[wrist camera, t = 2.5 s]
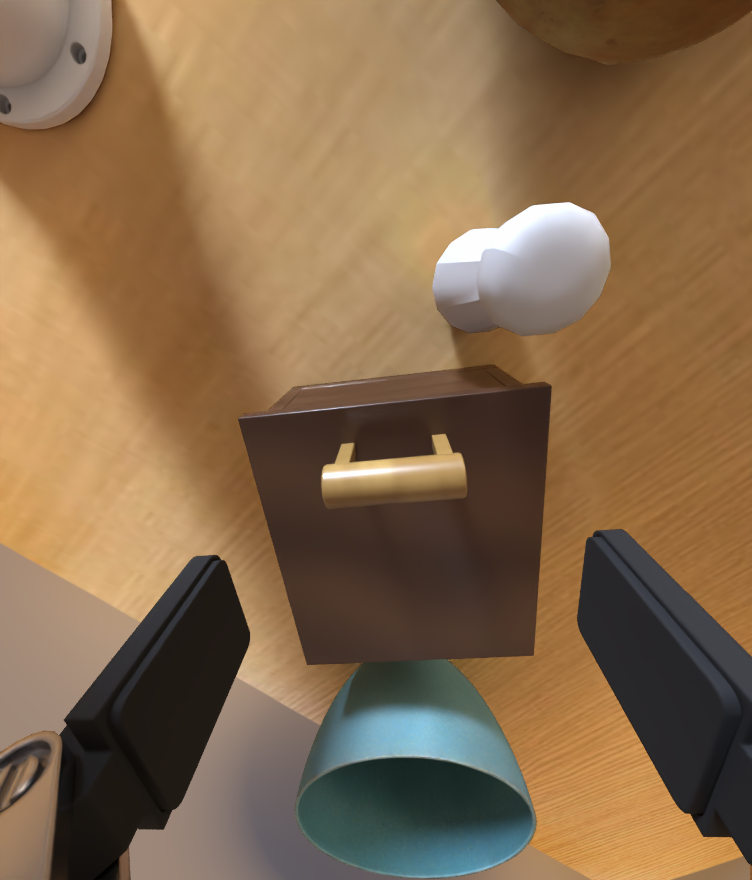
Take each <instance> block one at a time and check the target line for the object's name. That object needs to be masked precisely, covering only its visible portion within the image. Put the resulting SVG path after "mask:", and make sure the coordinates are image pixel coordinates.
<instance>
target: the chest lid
mask: <svg viewBox="0 0 752 880" xmlns="http://www.w3.org/2000/svg"><path fill="white" fill-rule="evenodd" d="M551 388H552V386H551V385H549V384H548V383H546V382H539V383H530V384H520V385H511V386H501V387H492V388H482V389H473V390H464V391H454V392H445V393H435V394H426V395H416V396H407V397H397V398H388V399H378V400H369V401H359V402H350V403H340V404H331V405H321V406H312V407H302V408H293V409H283V410H274V411H264V412H255V413H245V414H243V415H242V416H240V417H239V418H238V421H239V424H240V428H241V431H242V435H243V438H244V442H245V445H246V449H247V453H248V456H249V460H250V463H251V467H252V470H253V474H254V478H255V481H256V485H257V488H258V492H259V495H260V499H261V502H262V506H263V510H264V513H265V517H266V520H267V524H268V527H269V531H270V534H271V538H272V542H273V545H274V549H275V552H276V556H277V559H278V563H279V566H280V570H281V574H282V577H283V581H284V584H285V588H286V591H287V595H288V599H289V602H290V606H291V609H292V613H293V616H294V620H295V623H296V627H297V631H298V634H299V638H300V641H301V645H302V648H303V652H304V655H305V659H306V663H307V665H317V664H341V663H366V662H390V661H415V660H439V659H463V658H488V657H512V656H533V655H534V643H535V628H536V613H537V598H538V583H539V568H540V553H541V538H542V523H543V508H544V493H545V478H546V463H547V448H548V433H549V418H550V403H551Z"/></svg>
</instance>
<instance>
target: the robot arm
mask: <svg viewBox="0 0 752 880" xmlns="http://www.w3.org/2000/svg"><path fill="white" fill-rule="evenodd" d="M111 39H112V3H111V0H0V122H1V123H3V124H5V125H9V126H13V127H18V128H23V129H48V128H51V127H55V126H58V125H61V124H64V123H66V122H67V121H69V120H70V119H72V118H74V117H75V116H77V115H78V114H80V112H81V111H82V110H83V109H84V108H85V107H86V106H87V105H88V104H89V102H90V101H91V100H92V99H93V97H94V95H95V93H96V92H97V90H98V88H99V86H100V84H101V82H102V80H103V77H104V74H105V70H106V67H107V64H108V60H109V56H110V48H111ZM577 621H578V626H579V630H580V632H581V634H582V636H583V638H584V640H585V642H586V644H587V645H588V647H589V649H590V651H591V653H592V654H593V656H594V658H595V660H596V662H597V663H598V665H599V667H600V669H601V670H602V672H603V674H604V676H605V678H606V679H607V681H608V683H609V685H610V687H611V688H612V690H613V692H614V694H615V696H616V697H617V699H618V701H619V703H620V705H621V706H622V708H623V710H624V712H625V714H626V715H627V717H628V719H629V721H630V723H631V724H632V726H633V728H634V730H635V732H636V733H637V735H638V737H639V739H640V741H641V742H642V744H643V746H644V748H645V750H646V751H647V753H648V755H649V757H650V759H651V760H652V762H653V764H654V766H655V768H656V769H657V771H658V773H659V775H660V777H661V778H662V780H663V782H664V784H665V786H666V787H667V789H668V791H669V793H670V795H671V796H672V798H673V800H674V801H675V803H676V805H677V806H678V807H679V808H680V810H682V811H683V812H684V813H687V814H691V816H692V818H693V820H694V821H695V823H696V825H697V827H698V828H699V830H700V832H701V834H702V835H703V837H732V838H733V840H734V841H735V843H736V844H737V846H738V848H739V849H740V851H741V852H742V854H743V856H744V857H745V859H746V860H747V862H748V863H749V864H750V880H752V657H751V656H750V655H749V654H748V653H747V652H746V651H745V650H744V649H743V648H742V647H741V646H740V645H739V644H738V643H737V642H736V641H735V640H734V639H733V638H732V637H731V636H730V635H729V634H728V633H727V632H726V631H725V630H724V629H723V628H722V627H721V626H720V625H719V624H718V623H717V622H716V621H715V620H714V619H713V618H712V617H711V616H710V615H709V614H708V613H707V612H706V611H705V610H704V609H703V608H702V607H701V606H700V605H699V604H698V603H697V602H696V601H695V600H694V599H693V598H692V597H691V596H690V595H689V594H688V593H687V592H686V591H685V590H684V589H683V588H682V587H681V586H680V585H679V584H678V583H677V582H676V581H675V580H674V579H673V578H672V577H671V576H670V575H669V574H668V573H667V572H666V571H665V570H664V569H663V568H662V567H661V566H660V565H659V564H658V563H657V562H656V561H655V560H654V559H653V558H652V557H651V556H650V555H649V554H648V553H647V552H646V551H645V550H644V549H643V548H642V547H641V546H640V545H639V544H638V543H637V542H636V541H635V540H634V539H633V538H632V537H631V536H630V535H629V534H628V533H627V532H626V531H624V530H622V529H615V530H599V531H595V532H594V534H593V537H589V538H588V539H587V541H586V547H585V556H584V564H583V573H582V581H581V590H580V598H579V607H578V615H577ZM249 642H250V631H249V628H248V625H247V622H246V619H245V616H244V613H243V610H242V607H241V604H240V601H239V598H238V596H237V593H236V590H235V587H234V584H233V581H232V578H231V575H230V572H229V569H228V566H227V564H226V562H225V561H224V560H221V559H220V557H219V556H218V555H208V556H196V557H193V558H192V559H191V560H190V562H189V563H188V564H187V565H186V567H185V568H184V569H183V570H182V572H181V573H180V574H179V575H178V577H177V578H176V579H175V580H174V582H173V583H172V584H171V585H170V587H169V588H168V589H167V591H166V592H165V593H164V594H163V596H162V597H161V598H160V599H159V601H158V602H157V603H156V604H155V606H154V607H153V608H152V609H151V611H150V612H149V613H148V614H147V616H146V617H145V618H144V619H143V621H142V622H141V623H140V625H139V626H138V627H137V628H136V630H135V631H134V632H133V633H132V635H131V636H130V637H129V638H128V640H127V641H126V642H125V643H124V645H123V646H122V647H121V648H120V650H119V651H118V652H117V653H116V655H115V656H114V657H113V658H112V660H111V661H110V662H109V664H108V665H107V666H106V667H105V669H104V670H103V671H102V672H101V674H100V675H99V676H98V677H97V679H96V680H95V681H94V682H93V684H92V685H91V686H90V688H89V689H88V690H87V691H86V692H85V694H84V695H83V696H82V698H81V699H80V700H79V701H78V703H77V704H76V705H75V706H74V708H73V709H72V710H71V711H70V713H69V714H68V715H67V716H66V718H65V719H64V721H65V722H66V724H67V726H66V727H65V728H64V730H63V731H62V732H61V734H60V735H58V734H57V733H55V732H54V731H42V732H38V733H34V734H31V735H29V736H27V737H24V738H22V739H20V740H18V741H16V742H15V743H13V744H12V745H10V746H9V747H7V748H6V749H4V750H3V751H1V752H0V880H131V878H130V857H129V845H130V843H131V841H132V839H133V836H134V835H135V832H136V830H137V828H138V829H157V830H158V829H159V830H160V829H161V830H163V829H164V828H165V826H166V823H167V821H168V819H169V816H170V814H171V812H172V810H174V809H176V808H177V807H178V806H179V805H180V803H181V802H182V800H183V798H184V796H185V794H186V791H187V789H188V786H189V784H190V782H191V780H192V777H193V775H194V773H195V770H196V768H197V766H198V763H199V761H200V759H201V756H202V754H203V752H204V749H205V747H206V745H207V742H208V740H209V738H210V735H211V733H212V731H213V728H214V726H215V724H216V721H217V719H218V716H219V714H220V712H221V710H222V707H223V705H224V702H225V700H226V698H227V696H228V693H229V691H230V689H231V686H232V684H233V682H234V679H235V677H236V675H237V672H238V670H239V668H240V665H241V663H242V661H243V658H244V656H245V654H246V651H247V649H248V646H249Z"/></svg>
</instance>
